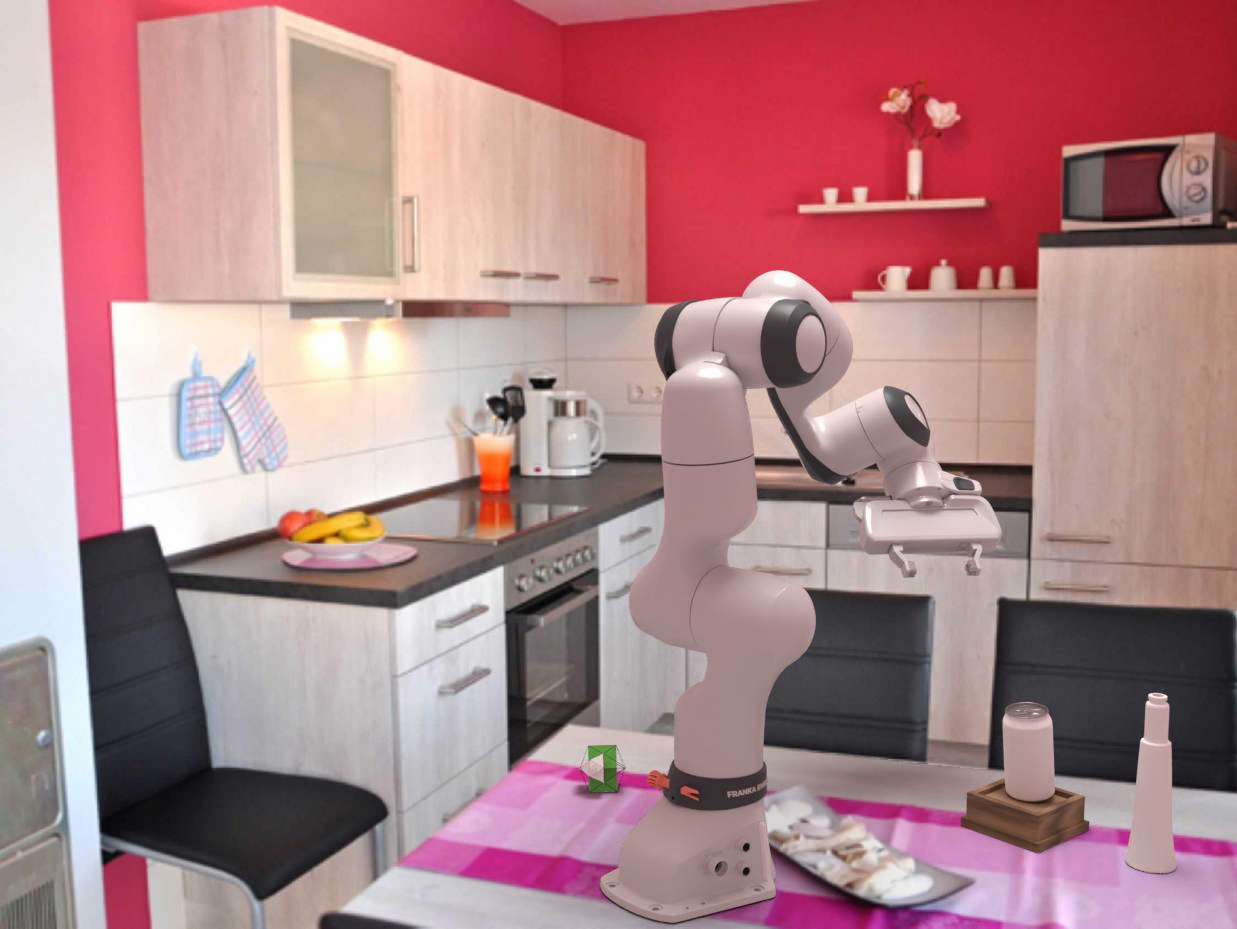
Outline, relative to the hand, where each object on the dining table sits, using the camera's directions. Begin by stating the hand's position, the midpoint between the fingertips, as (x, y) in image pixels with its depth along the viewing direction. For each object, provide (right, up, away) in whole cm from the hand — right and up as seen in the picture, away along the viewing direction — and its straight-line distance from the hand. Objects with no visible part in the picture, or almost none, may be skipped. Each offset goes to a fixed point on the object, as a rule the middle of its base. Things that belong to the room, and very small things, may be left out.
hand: (942, 574), depth 183 cm
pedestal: (+10, -34, -5) cm, 36 cm away
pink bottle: (+22, -36, -17) cm, 45 cm away
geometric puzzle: (-47, -33, +10) cm, 59 cm away
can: (+11, -30, -4) cm, 32 cm away
